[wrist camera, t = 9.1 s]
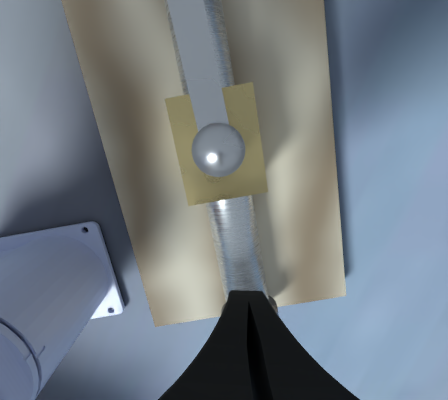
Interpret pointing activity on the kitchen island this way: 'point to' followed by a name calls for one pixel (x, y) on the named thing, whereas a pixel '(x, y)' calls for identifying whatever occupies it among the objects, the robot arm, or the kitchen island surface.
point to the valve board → (168, 161)
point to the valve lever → (205, 92)
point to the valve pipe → (231, 184)
